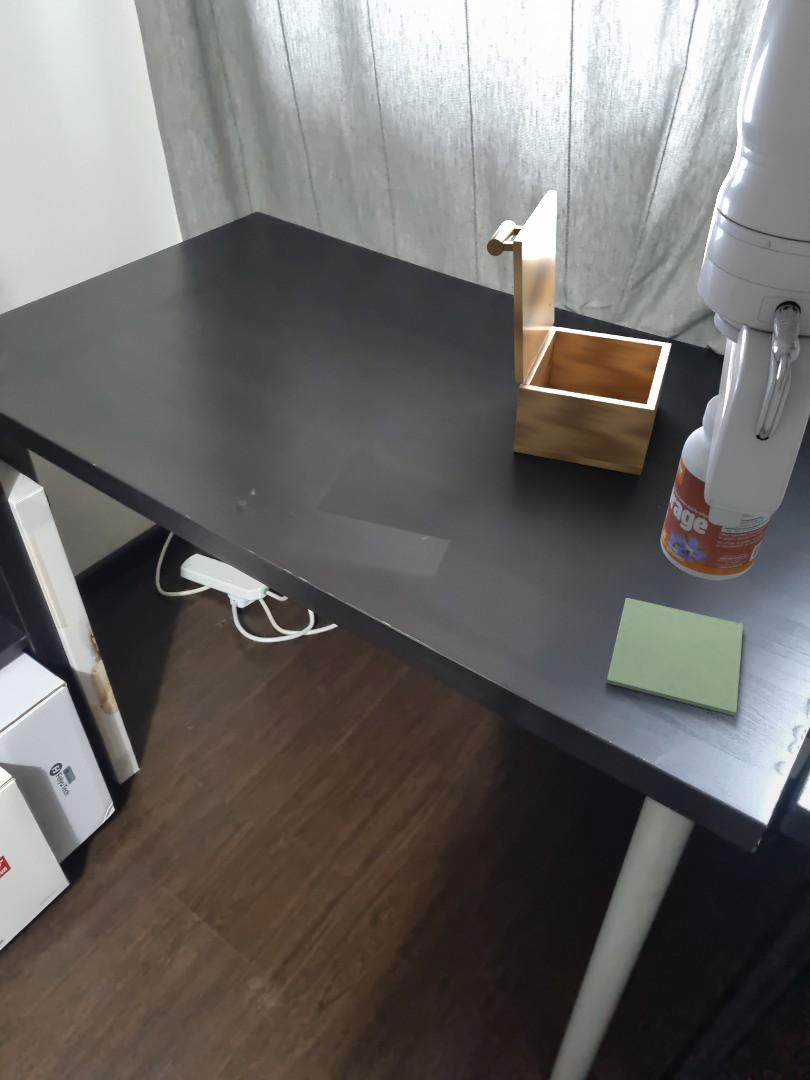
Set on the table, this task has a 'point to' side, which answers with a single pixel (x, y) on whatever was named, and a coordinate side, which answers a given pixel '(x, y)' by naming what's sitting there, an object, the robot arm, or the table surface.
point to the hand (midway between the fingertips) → (727, 483)
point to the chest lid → (531, 279)
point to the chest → (591, 399)
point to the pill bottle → (706, 518)
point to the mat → (678, 656)
